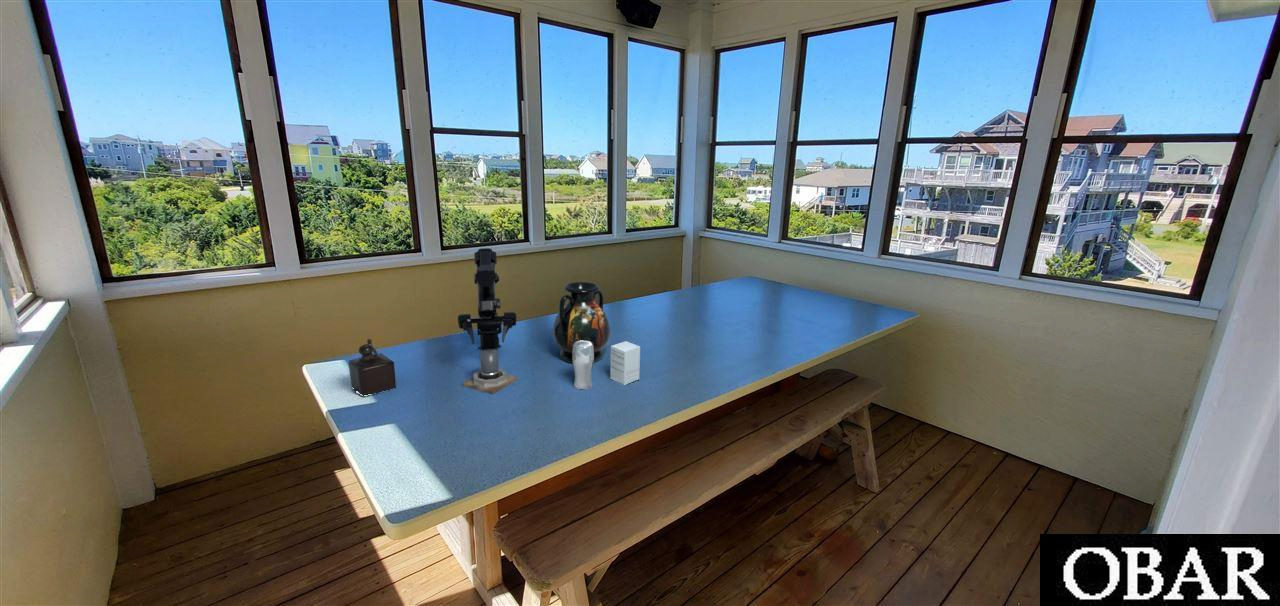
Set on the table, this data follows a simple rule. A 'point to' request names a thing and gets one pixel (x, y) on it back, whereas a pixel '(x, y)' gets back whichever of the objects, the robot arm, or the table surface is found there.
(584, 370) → the beer glass
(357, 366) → the brown coffee grinder
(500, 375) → the walnut mount board
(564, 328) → the amphora vase
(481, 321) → the robot arm
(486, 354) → the grey dome-topped cylinder
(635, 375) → the supplement box
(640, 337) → the table surface
